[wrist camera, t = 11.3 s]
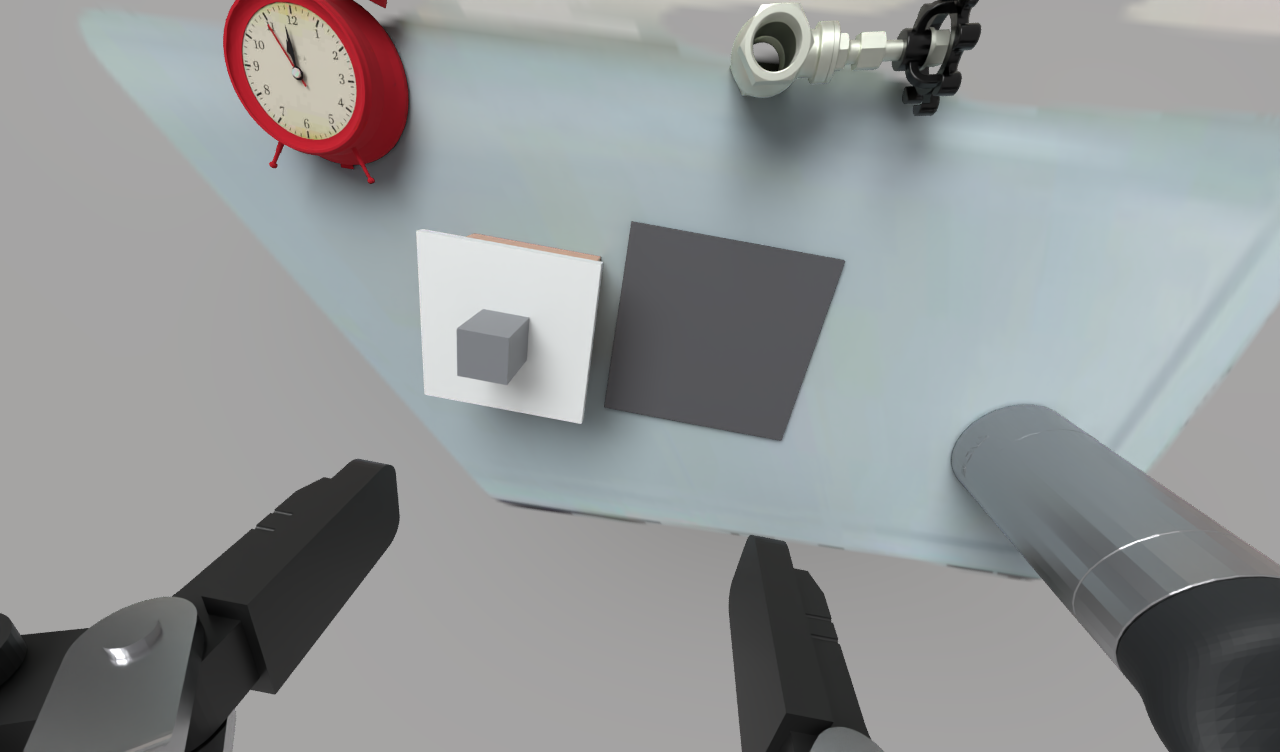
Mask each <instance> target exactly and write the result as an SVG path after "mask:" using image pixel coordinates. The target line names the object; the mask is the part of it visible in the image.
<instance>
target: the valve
mask: <svg viewBox="0 0 1280 752" xmlns="http://www.w3.org/2000/svg"><path fill="white" fill-rule="evenodd" d="M978 1H979V0H938V1H935V2H933V3H929V4H924V5H923V6H922V7H921V9H920V11H919V14H918V17H917V19H916V21H915V24H914V26H913V28H906V29H904V30H902V31H901V33H900V34H899V36H898V38H897V40H887V39H886V33H885V32H884V31H881V32H862V33H860V34H859V35H857V36H856V39H855V40H849V35H848V33H841V28H840V23H839V22H838V21H820V22H818V24H817V25H816V28H815V29H810V26H809V23H808V20H807V18H806V15H805V13H804V11H803V8H802V6H801V4H800V3H776V4H766V5H761V6H760V8H759V10H758V12H757V14H756V15H755V16H754V17H752V18H751V19H750V20H749V21H747V22H746V23H745V24H744V26H743V27H742V28H741V30H740V31H739V33H738V34H737V36H736V39H735V41H734V44H733V47H732V52H731V65H730V69H731V72H732V74H733V77H734V79H735V81H736V83H737V85H738V87H739V89H740V92H741V94H742V96H753V97H757V98H768V97H772V96H775V95H777V94H779V93H781V92H783V91H784V90H785V89H787V88H788V87H789V86H790V85H791V84H792V83H793V81H794V80H795V79H797V78H808V81H809V83H810V84H827V83H829V82H830V80H831V78H832V76H833V74H834V71H840V70H842V69H843V68H844V66H845V65H849V64H851V71H856V70H874V69H877V68H879V66H880V65H881V63H882V61H892V67H893V70H894V71H905V74H906V78H907V80H908V81H909V82H910V83H911V84H912V85H913V86H909V87H905V89H904V91H903V96H902V101H903V103H904V104H919V103H921V102H922V104H920V105H914V106H913V114H914V116H931V115H933V114H934V113H935V112H936V111H937V109H938V106H939V101H940V97H939V96H952V95H954V94H955V93H956V92H957V91H958V89H959V87H960V84H961V79H962V76H961V73H960V72H959V71H957V67H958V63H959V61H960V58H961V55H962V53H963V51H964V50H971V49H972V48H974V47H975V45H976V43H977V42H978V40H979V37H980V34H981V25H980V24H979V23H969V15H970V11H971V9H972V7H974V6H975V5H976V4H977V2H978ZM947 15H950V18H951V34H950V30H949V29H947V30H939V28H940V26H941V24H942V23H943V21H944V20H945V18H946V17H947ZM762 42H765V43H769V44H771V45H772V46H773V47H774V48H775V49H776V51H777V53H778V56H779V70H778V71H777V72H771V71H767V70H765V69H763V68H762V67H761V66H760V65H759V64H758V63H757V61H756V59H755V57H754V54H753V45H754V44H757V43H762ZM940 64H942V65H941V67H940V69H939V71H938V73H937V74H933V75H932V74H929V67H934V66H938V65H940Z"/></svg>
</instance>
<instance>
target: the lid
mask: <svg viewBox="0 0 1280 752" xmlns="http://www.w3.org/2000/svg"><path fill="white" fill-rule="evenodd" d="M416 235H417V255H418V275H419V295H420V314H421V334H422V354H423V374H424V393H425V395H430V396H435V397H441V398H446V399H451V400H457V401H462V402H467V403H472V404H478V405H483V406H488V407H494V408H499V409H504V410H510V411H515V412H520V413H526V414H531V415H536V416H542V417H547V418H552V419H558V420H563V421H568V422H574V423H579V424H582V422H583V419H584V412H585V404H586V396H587V388H588V380H589V372H590V364H591V356H592V349H593V341H594V333H595V325H596V317H597V309H598V301H599V293H600V285H601V277H602V269H603V262H600V261H594V260H589V259H584V258H578V257H573V256H567V255H562V254H556V253H551V252H545V251H540V250H534V249H529V248H524V247H518V246H513V245H507V244H502V243H496V242H491V241H485V240H480V239H474V238H469V237H463V236H458V235H453V234H447V233H442V232H436V231H431V230H425V229H421V230H417V231H416Z"/></svg>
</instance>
